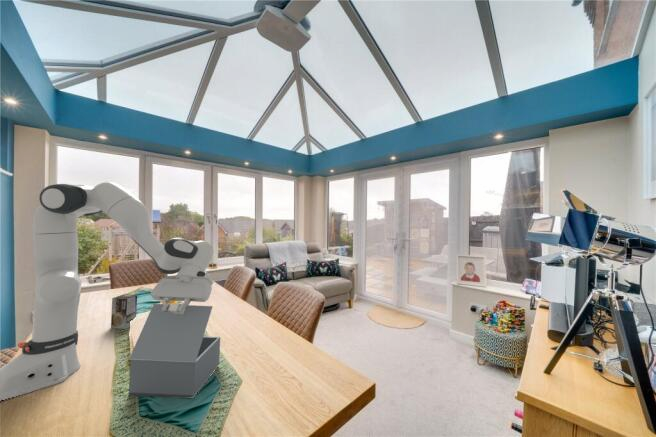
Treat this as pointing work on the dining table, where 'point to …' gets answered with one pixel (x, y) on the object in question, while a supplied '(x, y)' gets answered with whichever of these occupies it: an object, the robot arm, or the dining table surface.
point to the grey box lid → (172, 333)
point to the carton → (174, 373)
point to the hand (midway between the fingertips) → (171, 311)
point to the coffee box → (123, 311)
